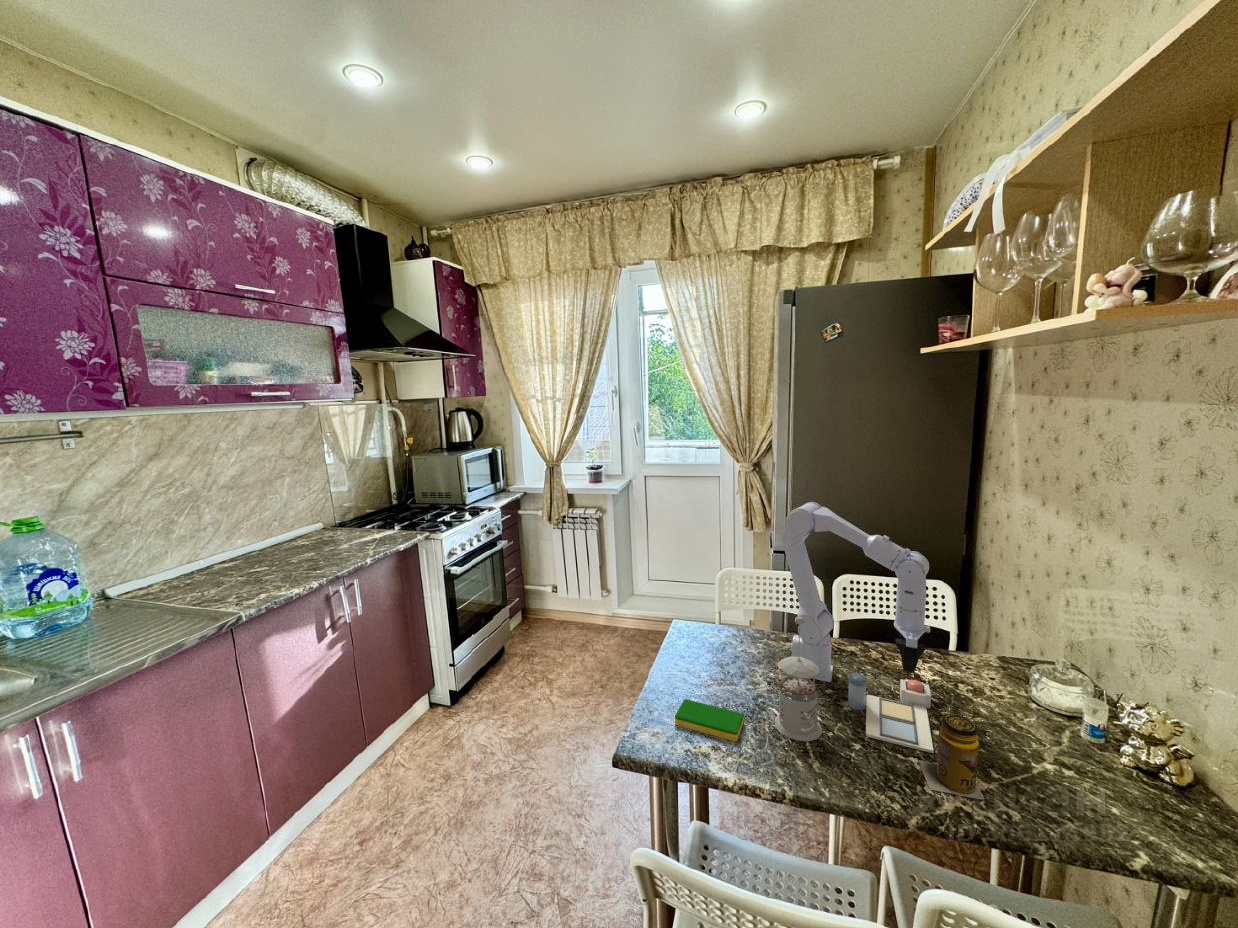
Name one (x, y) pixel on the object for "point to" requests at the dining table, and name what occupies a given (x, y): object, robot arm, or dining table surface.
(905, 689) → the button housing
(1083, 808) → the dining table surface
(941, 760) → the condiment
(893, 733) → the sheet
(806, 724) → the french press
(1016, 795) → the dining table surface
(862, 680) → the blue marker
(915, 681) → the button
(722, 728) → the dish sponge
